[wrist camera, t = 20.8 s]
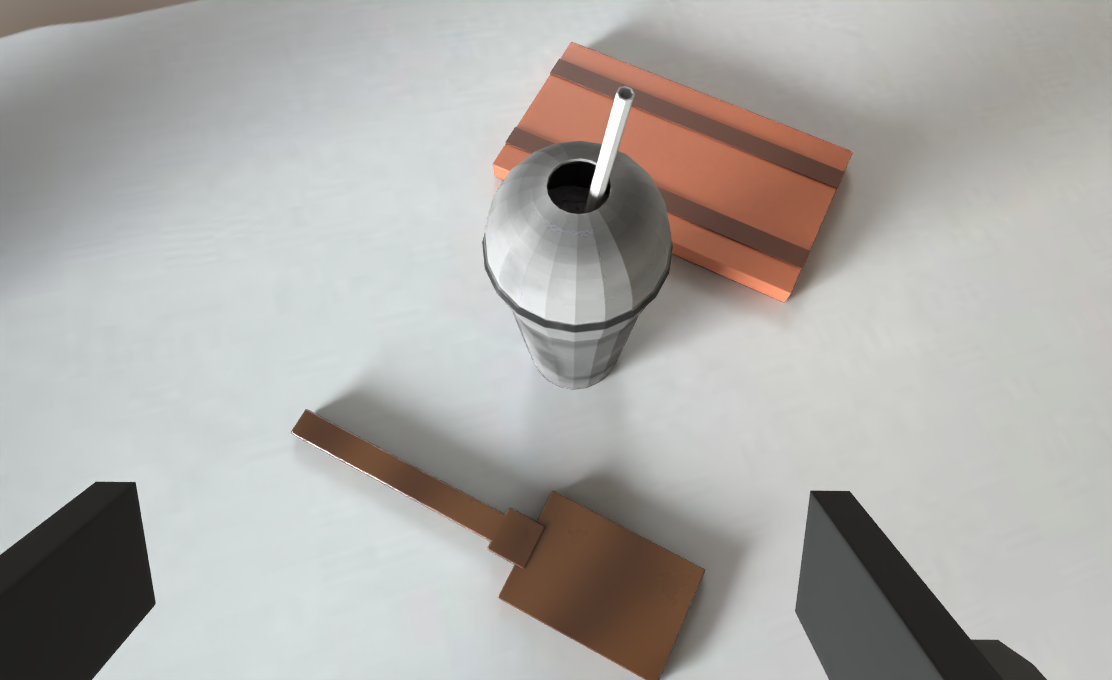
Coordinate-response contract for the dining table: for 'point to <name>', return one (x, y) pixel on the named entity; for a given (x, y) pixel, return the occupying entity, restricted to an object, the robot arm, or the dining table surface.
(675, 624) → the spatula
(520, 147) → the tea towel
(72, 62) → the dining table surface
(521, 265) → the beverage cup
